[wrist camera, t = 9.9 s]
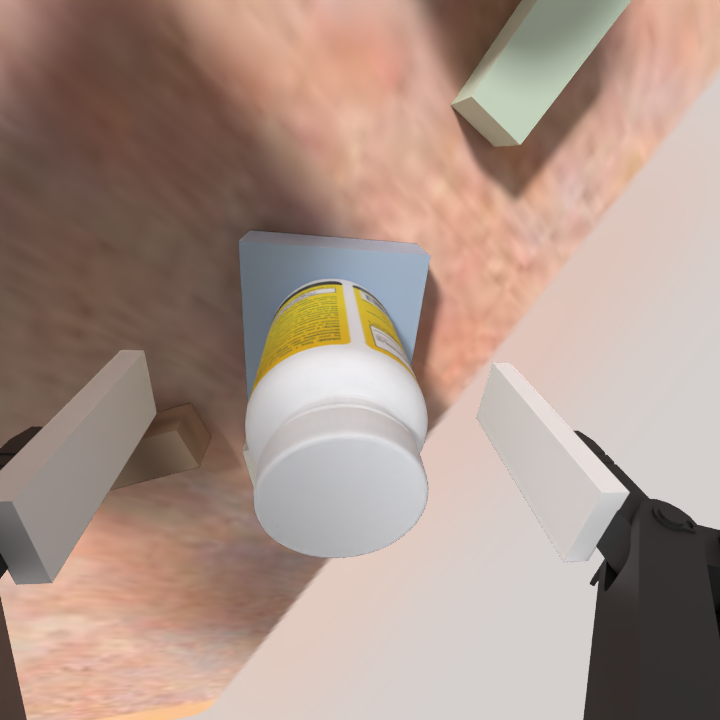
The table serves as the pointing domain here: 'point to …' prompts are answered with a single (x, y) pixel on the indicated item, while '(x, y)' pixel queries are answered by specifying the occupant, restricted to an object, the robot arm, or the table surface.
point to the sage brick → (532, 64)
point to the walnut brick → (166, 447)
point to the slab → (326, 261)
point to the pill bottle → (336, 425)
